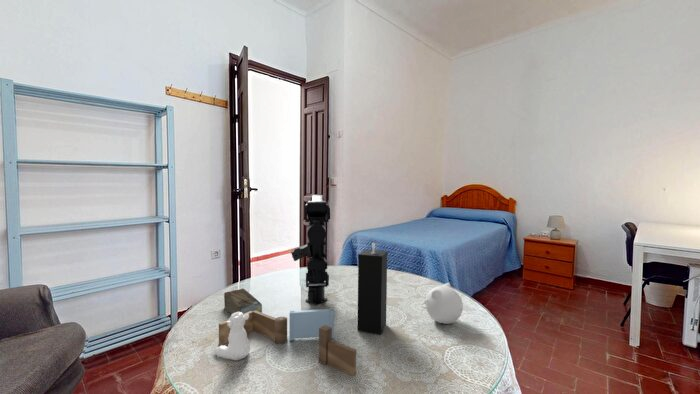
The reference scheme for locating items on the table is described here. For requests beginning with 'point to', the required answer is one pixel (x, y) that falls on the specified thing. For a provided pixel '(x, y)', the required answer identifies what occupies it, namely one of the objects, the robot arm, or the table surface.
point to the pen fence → (277, 330)
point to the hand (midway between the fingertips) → (316, 283)
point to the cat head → (443, 304)
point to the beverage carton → (241, 302)
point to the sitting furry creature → (235, 339)
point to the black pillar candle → (372, 290)
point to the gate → (309, 323)
